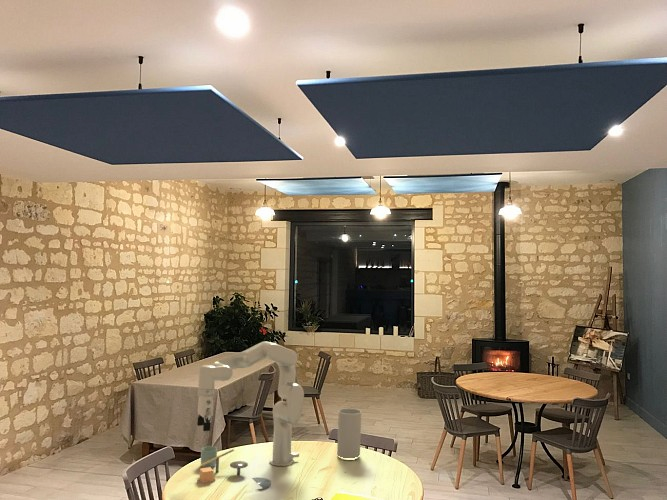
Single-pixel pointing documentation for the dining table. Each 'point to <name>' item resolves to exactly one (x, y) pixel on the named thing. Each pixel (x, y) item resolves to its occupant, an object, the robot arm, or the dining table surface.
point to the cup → (208, 456)
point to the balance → (234, 465)
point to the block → (206, 475)
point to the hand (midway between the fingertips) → (203, 428)
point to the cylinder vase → (349, 433)
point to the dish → (262, 482)
